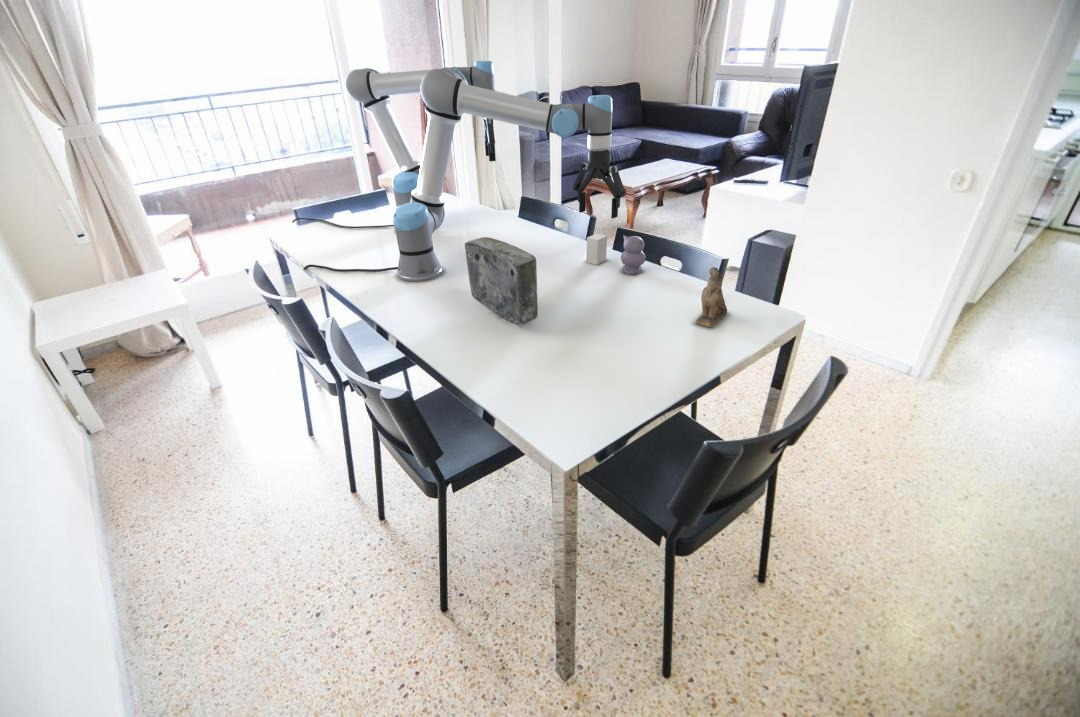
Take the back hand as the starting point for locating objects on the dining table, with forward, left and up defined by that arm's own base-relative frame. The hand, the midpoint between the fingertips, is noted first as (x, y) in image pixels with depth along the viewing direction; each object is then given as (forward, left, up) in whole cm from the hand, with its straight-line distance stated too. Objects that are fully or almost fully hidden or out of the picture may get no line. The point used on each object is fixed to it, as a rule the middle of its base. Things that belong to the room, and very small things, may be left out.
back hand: (490, 158), depth 217 cm
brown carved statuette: (+103, -73, -27) cm, 129 cm away
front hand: (+60, -39, -10) cm, 72 cm away
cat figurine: (+74, -45, -27) cm, 91 cm away
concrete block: (+46, -89, -27) cm, 104 cm away
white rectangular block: (+60, -39, -27) cm, 76 cm away
